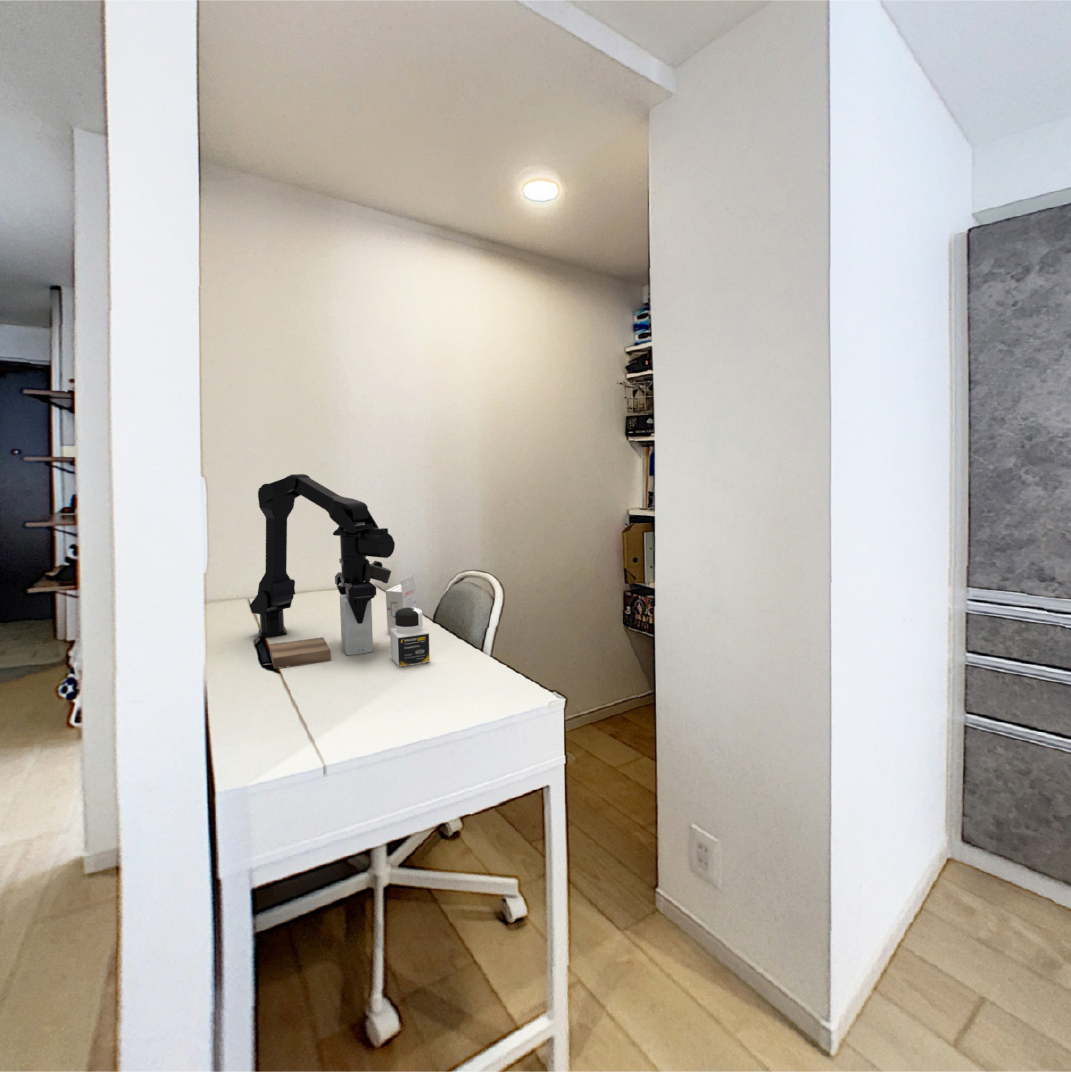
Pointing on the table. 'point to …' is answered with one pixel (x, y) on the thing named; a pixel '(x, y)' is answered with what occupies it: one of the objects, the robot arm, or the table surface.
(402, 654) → the medicine bottle
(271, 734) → the table surface
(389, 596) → the ink cartridge box
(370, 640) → the small box
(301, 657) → the brown wooden slab
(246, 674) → the table surface
